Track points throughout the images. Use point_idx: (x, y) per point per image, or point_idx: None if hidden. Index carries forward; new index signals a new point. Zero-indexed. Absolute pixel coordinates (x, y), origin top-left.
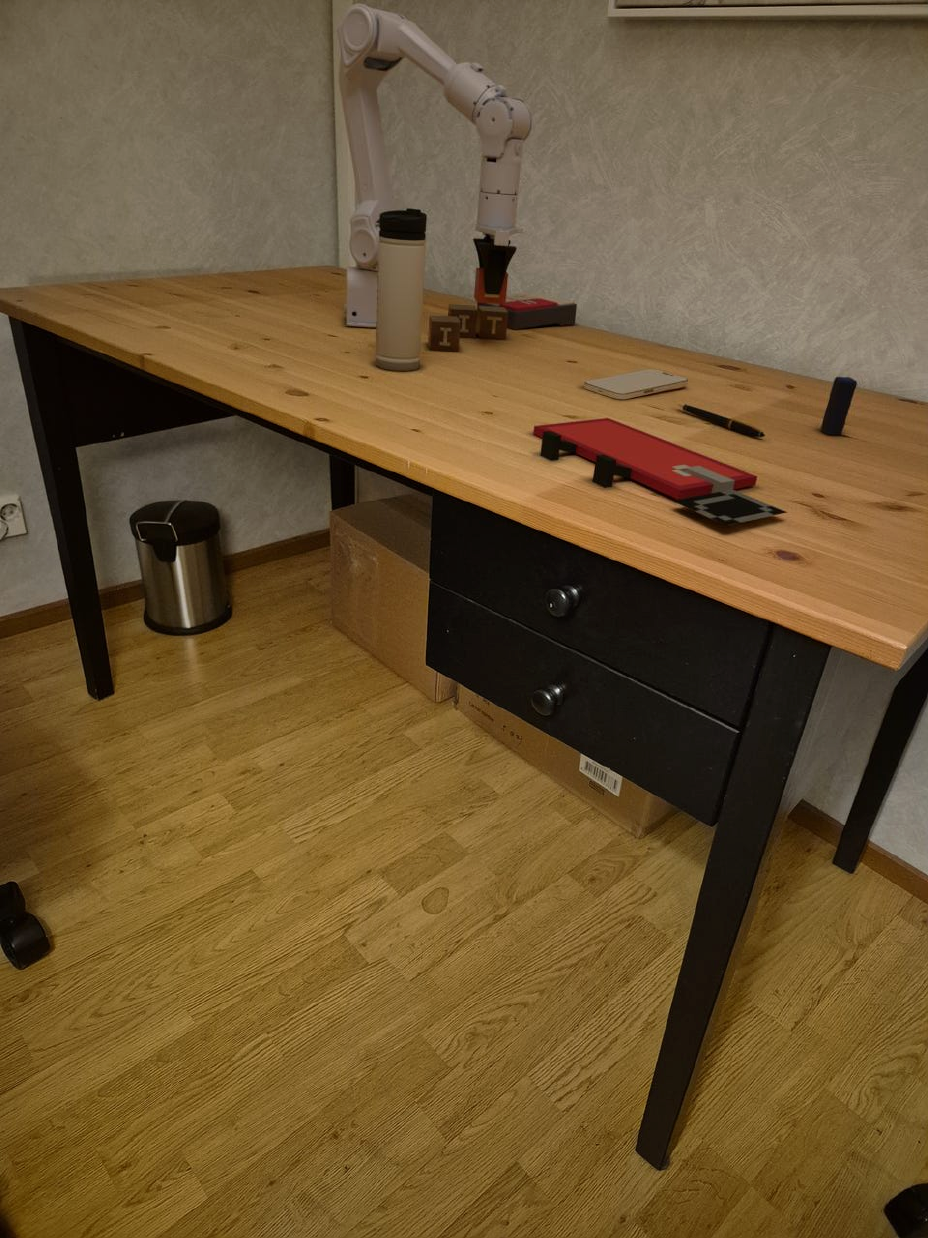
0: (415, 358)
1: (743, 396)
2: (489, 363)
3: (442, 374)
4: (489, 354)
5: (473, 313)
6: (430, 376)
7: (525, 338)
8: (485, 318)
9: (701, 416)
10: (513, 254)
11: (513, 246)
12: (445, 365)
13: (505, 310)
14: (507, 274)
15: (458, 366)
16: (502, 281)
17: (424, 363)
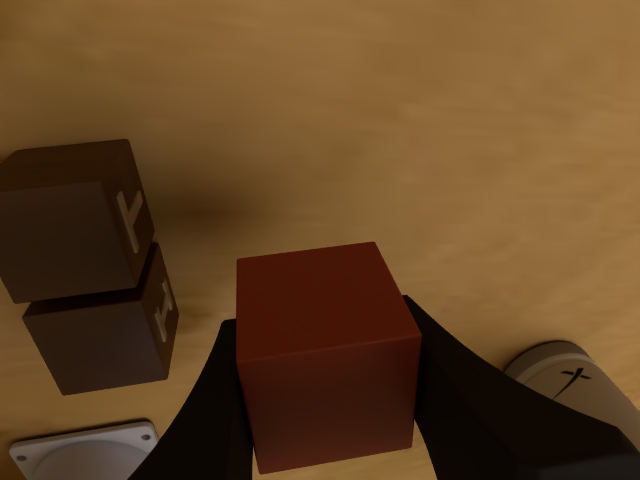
0: (591, 362)
1: None
2: (509, 199)
3: (611, 295)
4: (395, 198)
5: (147, 306)
6: (624, 314)
7: (40, 45)
8: (139, 255)
9: None
10: (600, 420)
11: (559, 478)
12: (532, 296)
13: (59, 193)
14: (419, 333)
15: (542, 270)
16: (441, 328)
17: (514, 335)
